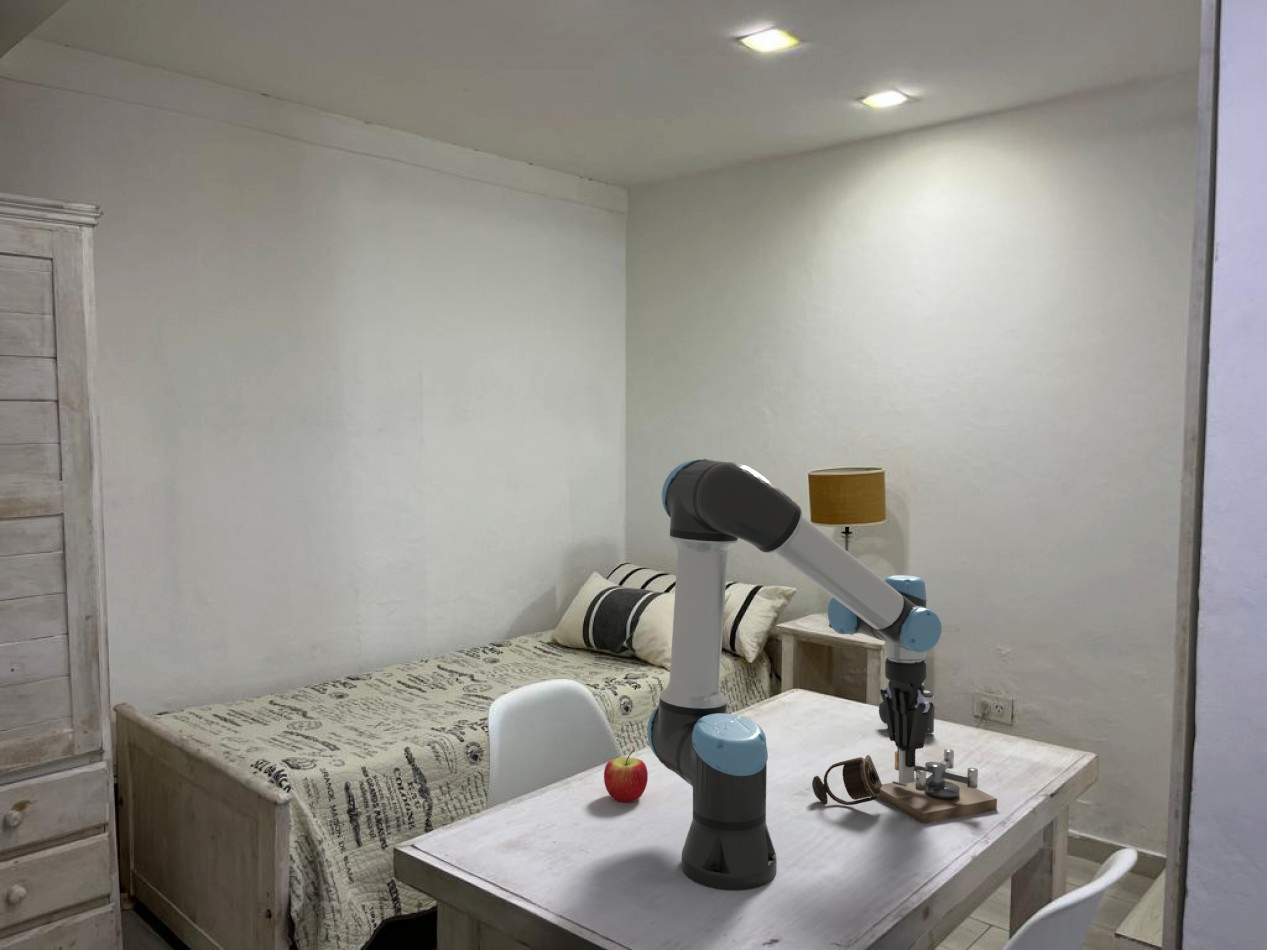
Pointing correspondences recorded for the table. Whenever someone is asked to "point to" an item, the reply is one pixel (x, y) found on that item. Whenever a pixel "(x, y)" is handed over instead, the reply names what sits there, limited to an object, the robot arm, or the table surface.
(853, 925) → the table surface
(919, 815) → the stand board
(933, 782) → the grey star handwheel
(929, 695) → the camera
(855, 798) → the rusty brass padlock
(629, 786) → the apple
